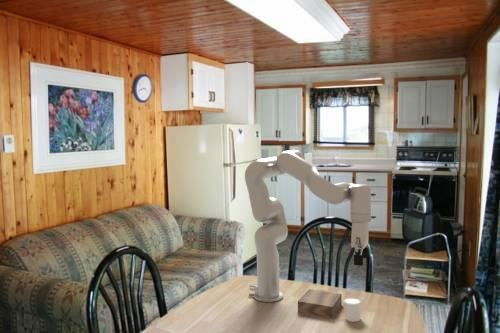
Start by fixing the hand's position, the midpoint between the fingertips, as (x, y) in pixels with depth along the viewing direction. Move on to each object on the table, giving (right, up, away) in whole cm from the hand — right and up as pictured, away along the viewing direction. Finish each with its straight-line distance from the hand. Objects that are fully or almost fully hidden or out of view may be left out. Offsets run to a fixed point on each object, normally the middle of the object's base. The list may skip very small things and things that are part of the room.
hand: (361, 261), depth 170 cm
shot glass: (-3, -22, +1) cm, 23 cm away
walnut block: (-14, -22, +11) cm, 28 cm away
